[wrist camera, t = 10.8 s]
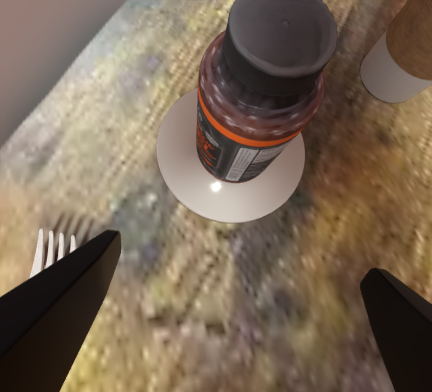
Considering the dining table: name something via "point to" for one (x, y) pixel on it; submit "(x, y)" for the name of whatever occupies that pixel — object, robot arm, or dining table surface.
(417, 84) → the coffee cup
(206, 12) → the dining table surface
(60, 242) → the fork
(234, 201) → the beige flattened disc
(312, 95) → the supplement bottle
